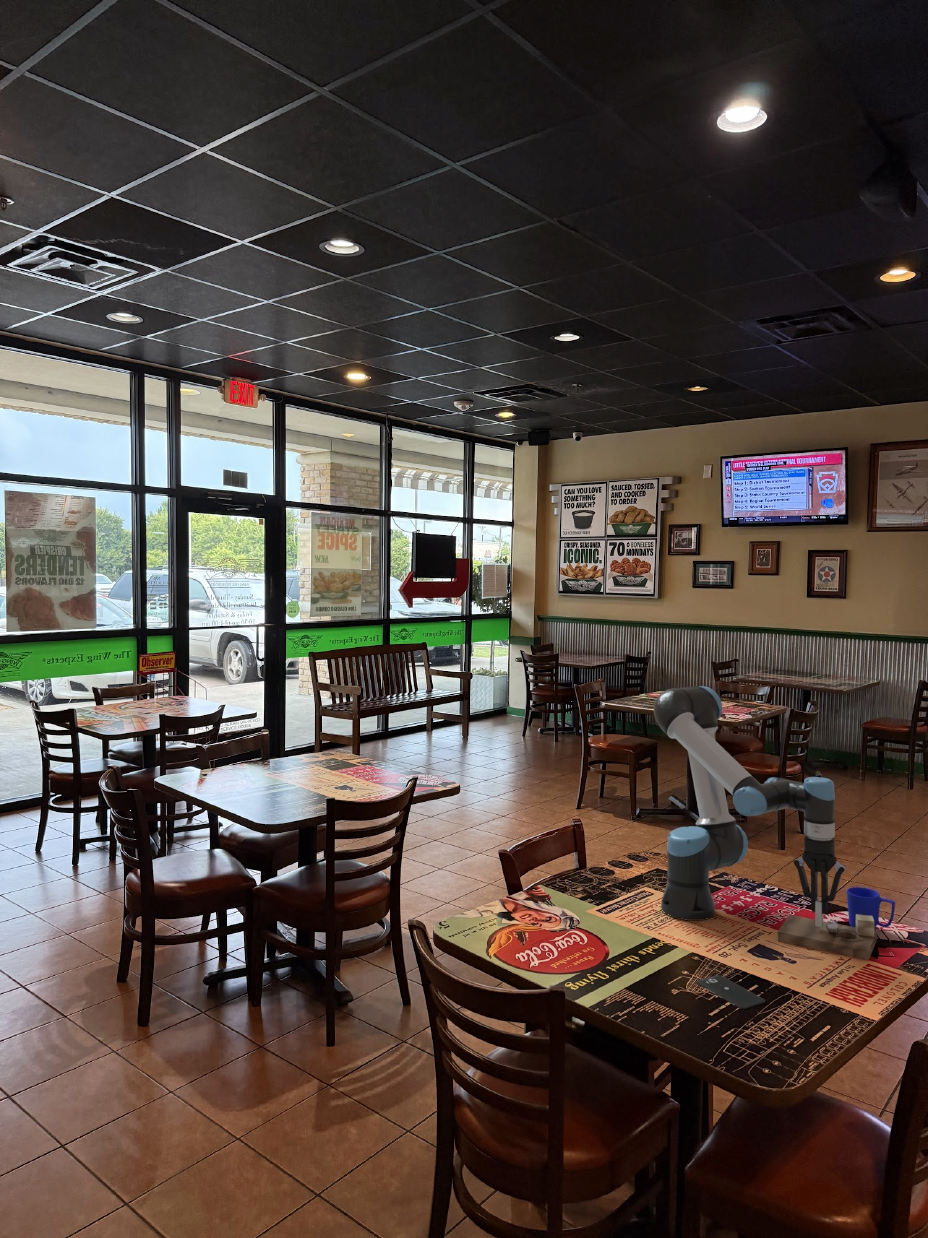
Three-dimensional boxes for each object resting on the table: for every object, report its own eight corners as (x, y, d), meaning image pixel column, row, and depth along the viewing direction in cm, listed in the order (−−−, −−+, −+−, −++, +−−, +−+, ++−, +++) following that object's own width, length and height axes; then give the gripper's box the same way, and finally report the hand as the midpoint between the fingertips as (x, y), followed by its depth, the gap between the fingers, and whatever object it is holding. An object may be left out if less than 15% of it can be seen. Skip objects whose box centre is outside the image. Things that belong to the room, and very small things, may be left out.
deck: (777, 941, 226) (777, 931, 226) (789, 923, 238) (789, 914, 238) (868, 960, 214) (868, 950, 214) (876, 941, 226) (876, 931, 226)
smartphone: (719, 977, 206) (719, 974, 206) (767, 1004, 193) (767, 1000, 193) (695, 984, 203) (695, 981, 203) (742, 1011, 189) (742, 1008, 189)
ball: (838, 935, 223) (825, 935, 224) (841, 931, 225) (828, 931, 227) (836, 922, 223) (823, 922, 225) (838, 919, 226) (825, 918, 227)
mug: (891, 940, 226) (891, 903, 226) (843, 929, 234) (843, 893, 233) (897, 930, 233) (898, 894, 232) (850, 920, 240) (850, 885, 240)
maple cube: (857, 935, 224) (857, 920, 223) (855, 929, 227) (855, 914, 227) (874, 936, 222) (874, 921, 222) (872, 931, 226) (872, 916, 226)
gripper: (790, 836, 226) (790, 924, 227) (843, 844, 219) (843, 934, 220) (796, 830, 233) (796, 915, 233) (848, 837, 226) (848, 925, 226)
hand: (819, 924), depth 227 cm, fingers closed
